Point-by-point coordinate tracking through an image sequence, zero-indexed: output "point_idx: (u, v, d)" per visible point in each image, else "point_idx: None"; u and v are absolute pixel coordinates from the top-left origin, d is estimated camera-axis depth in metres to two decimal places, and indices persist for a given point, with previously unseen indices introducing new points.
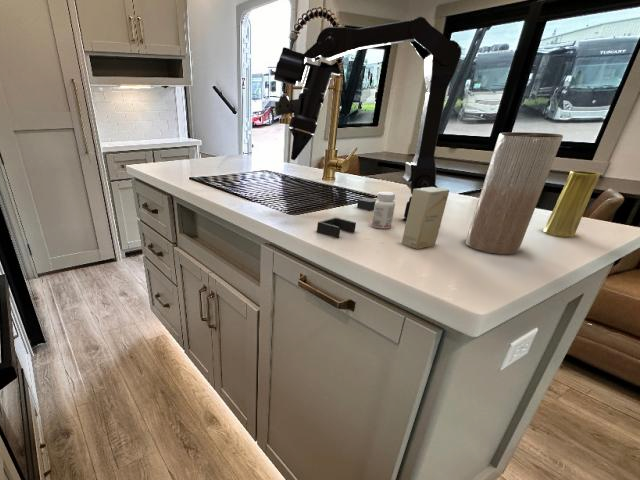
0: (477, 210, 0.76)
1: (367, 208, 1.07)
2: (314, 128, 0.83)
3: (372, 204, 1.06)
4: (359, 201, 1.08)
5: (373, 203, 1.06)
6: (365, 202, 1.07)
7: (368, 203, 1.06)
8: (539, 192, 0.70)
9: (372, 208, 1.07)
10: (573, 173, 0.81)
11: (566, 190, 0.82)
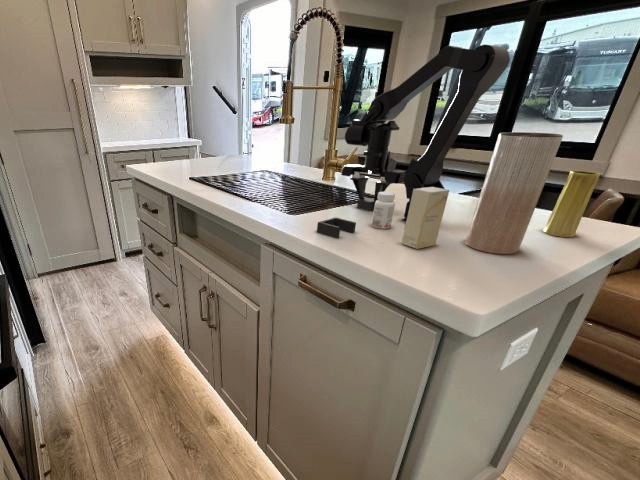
0: (477, 210, 0.76)
1: (367, 208, 1.07)
2: None
3: (372, 204, 1.06)
4: (359, 201, 1.08)
5: (373, 203, 1.06)
6: (365, 202, 1.07)
7: (368, 203, 1.06)
8: (539, 192, 0.70)
9: (372, 208, 1.07)
10: (573, 173, 0.81)
11: (566, 190, 0.82)
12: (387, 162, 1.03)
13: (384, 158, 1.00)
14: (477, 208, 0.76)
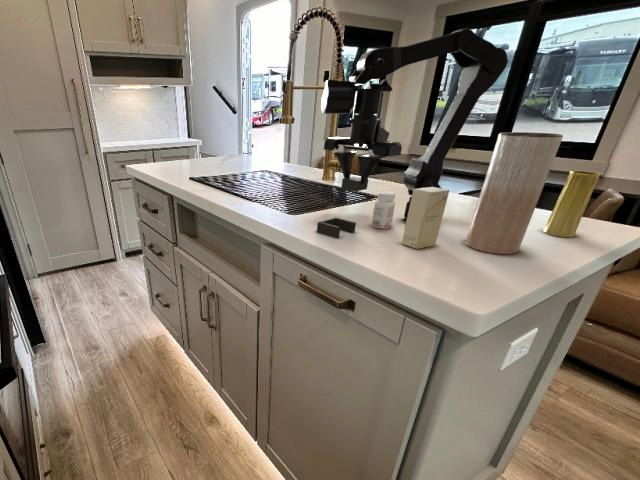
0: (477, 210, 0.76)
1: (353, 188, 0.90)
2: (324, 145, 0.92)
3: (359, 183, 0.89)
4: (344, 180, 0.91)
5: (360, 182, 0.89)
6: (350, 181, 0.90)
7: (354, 182, 0.89)
8: (539, 192, 0.70)
9: (359, 188, 0.90)
10: (573, 173, 0.81)
11: (566, 190, 0.82)
12: (377, 132, 0.85)
13: (373, 127, 0.83)
14: (477, 208, 0.76)
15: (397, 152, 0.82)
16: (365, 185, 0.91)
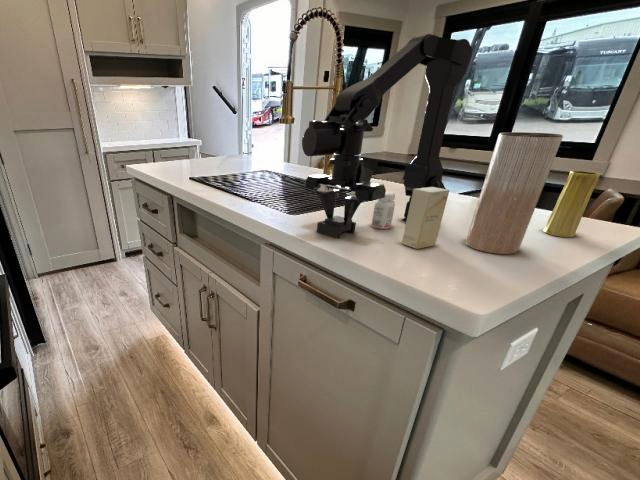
0: (477, 210, 0.76)
1: None
2: (305, 183, 0.88)
3: (342, 225, 0.85)
4: (326, 221, 0.87)
5: (343, 223, 0.85)
6: (333, 222, 0.85)
7: (337, 224, 0.85)
8: (539, 192, 0.70)
9: (342, 230, 0.85)
10: (573, 173, 0.81)
11: (566, 190, 0.82)
12: (360, 172, 0.81)
13: (355, 168, 0.79)
14: (477, 208, 0.76)
15: (381, 195, 0.77)
16: (349, 225, 0.86)
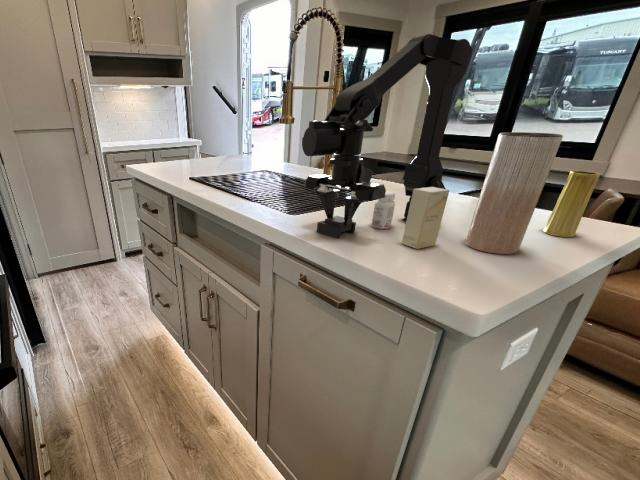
0: (477, 210, 0.76)
1: None
2: (305, 183, 0.88)
3: (342, 225, 0.84)
4: (326, 221, 0.87)
5: (343, 224, 0.85)
6: (333, 222, 0.85)
7: (337, 224, 0.85)
8: (539, 192, 0.70)
9: (342, 230, 0.85)
10: (573, 173, 0.81)
11: (566, 190, 0.82)
12: (360, 173, 0.81)
13: (355, 168, 0.79)
14: (477, 208, 0.76)
15: (381, 195, 0.77)
16: (349, 225, 0.86)
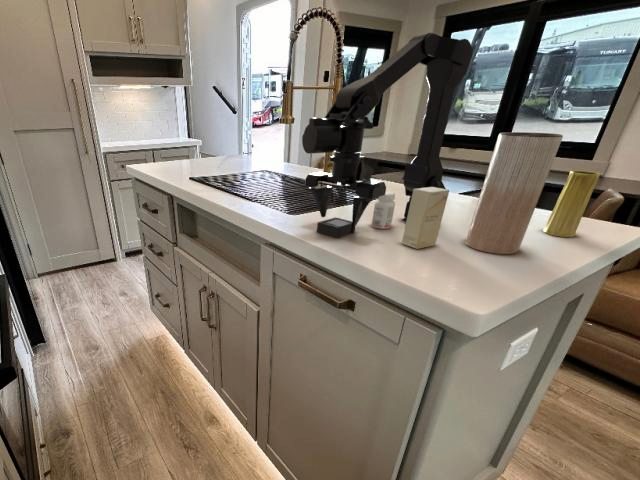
0: (477, 210, 0.76)
1: None
2: (305, 181, 0.87)
3: (342, 228, 0.85)
4: None
5: (343, 227, 0.85)
6: None
7: None
8: (539, 192, 0.70)
9: (342, 233, 0.86)
10: (573, 173, 0.81)
11: (566, 190, 0.82)
12: (360, 170, 0.81)
13: (355, 165, 0.79)
14: (477, 208, 0.76)
15: (381, 192, 0.77)
16: (348, 229, 0.87)
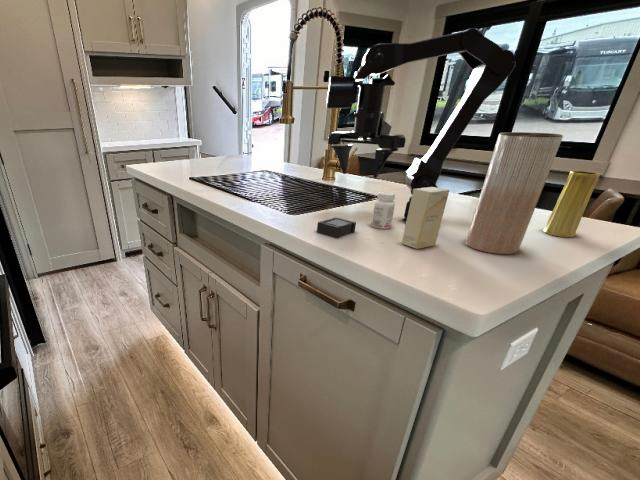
0: (477, 210, 0.76)
1: None
2: (328, 139, 0.94)
3: (342, 228, 0.85)
4: None
5: (343, 227, 0.85)
6: None
7: None
8: (539, 192, 0.70)
9: (342, 233, 0.86)
10: (573, 173, 0.81)
11: (566, 190, 0.82)
12: (380, 126, 0.88)
13: (377, 120, 0.86)
14: (477, 208, 0.76)
15: (401, 144, 0.84)
16: (348, 229, 0.87)
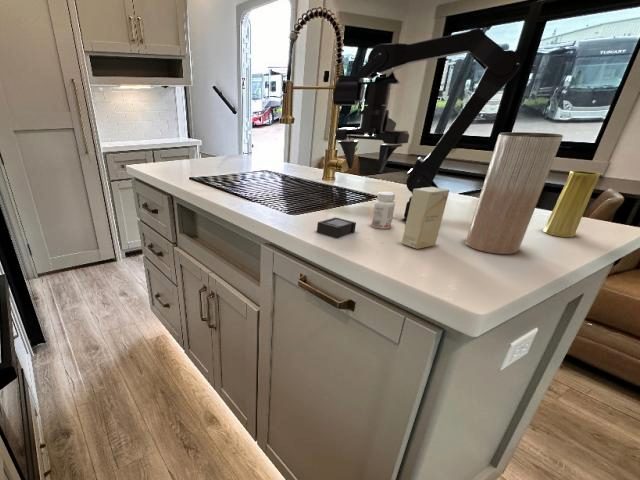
0: (477, 210, 0.76)
1: None
2: (335, 135, 0.99)
3: (342, 228, 0.85)
4: None
5: (343, 227, 0.85)
6: None
7: None
8: (539, 192, 0.70)
9: (342, 233, 0.86)
10: (573, 173, 0.81)
11: (566, 190, 0.82)
12: (385, 122, 0.92)
13: (382, 117, 0.90)
14: (477, 208, 0.76)
15: (405, 140, 0.88)
16: (348, 229, 0.87)
